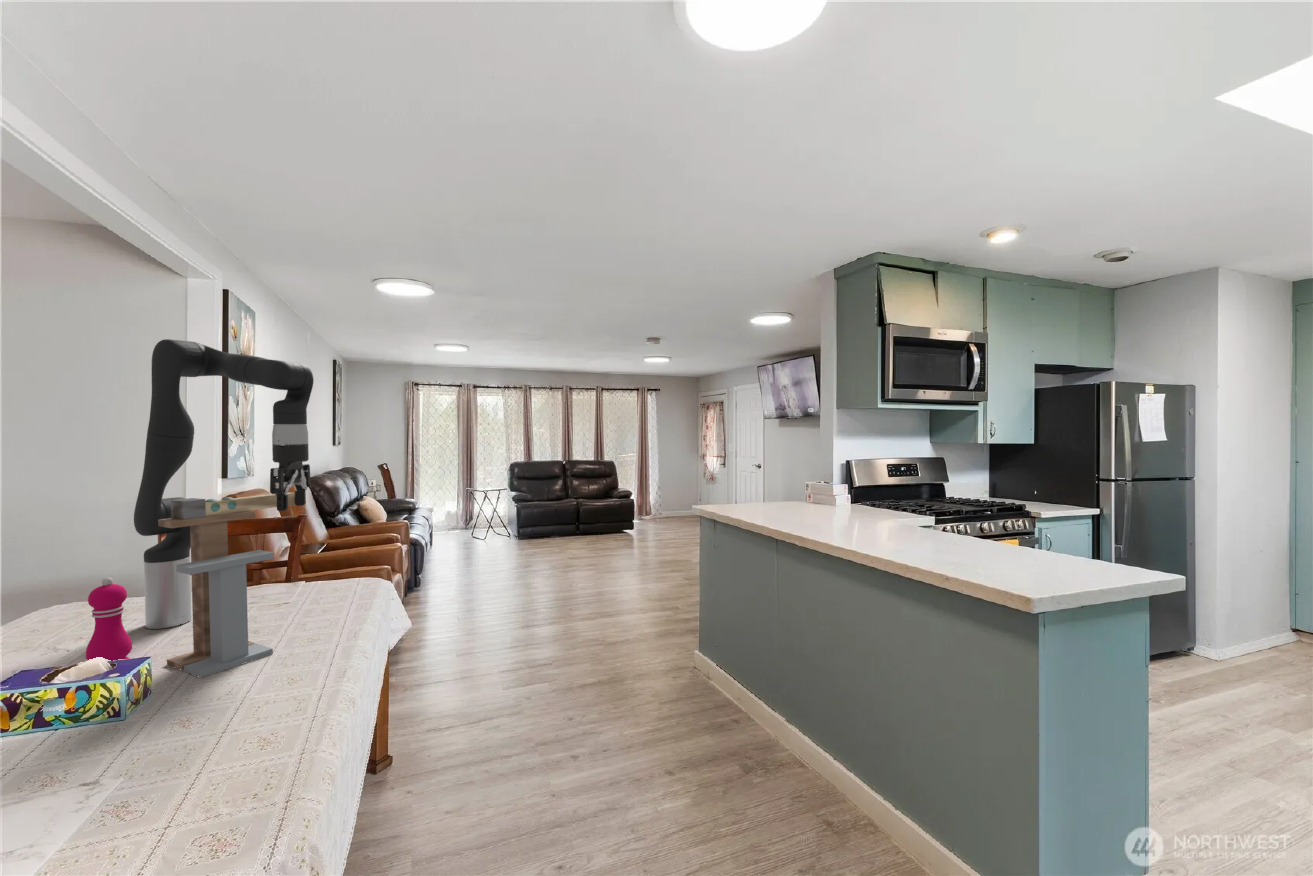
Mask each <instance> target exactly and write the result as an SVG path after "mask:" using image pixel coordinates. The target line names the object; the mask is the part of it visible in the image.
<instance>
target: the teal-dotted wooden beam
mask: <svg viewBox="0 0 1313 876" xmlns="http://www.w3.org/2000/svg"><path fill="white" fill-rule="evenodd" d="M287 495H288V506H296V505H295V492H289V491H288V494H287ZM273 508H277V496H276V495H275V494H274V493H270V494H263V495H262V494H261V495H254V496H253V495H252V496H243V497H232V496H231V497H230V496H228V497H227V496H226V497H222V498H221V499H214V498H209V499H205V498H193V497H190V498H185V499H179V500H171V519H181V520H188V519H195V518H203V517H206V516H213V515H221V514H228V513H236V512H243V511H257V510H266V509H273Z"/></svg>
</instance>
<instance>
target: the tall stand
mask: <svg viewBox="0 0 1313 876" xmlns="http://www.w3.org/2000/svg"><path fill="white" fill-rule="evenodd" d="M255 517H256V510H251V511H243V512H236V513H228V514H221V515H213V516H206V517H203V518H195V519H188V520H181V519H171V518H168V519H160V520H158V526H160V527H167V528H178V527H185V526H190V537H191V548H190V562H195V561H201V560H206V559H212V558H217V557H223V556H229V542H228V540H229V537H228V536H229V535H228V531H229V529H228V521H237V520H243V519H250V518H251V519H253V518H255ZM191 612H192V636H193V638H192V639H193V640H192V641H193V642H192V643H193V647H192V648H193V651H190V652H186V653H184V654H180V655H177V656H173V657H171V658H167V659H166V665H167V666H169V667H171V666H173V667H172V668H174V667H175V669H176V668H177V669H176V670H179V669H181V670H184V666H185V665H188V664H191V663H195V662H198V661H201V660H204V659H207V658H211V649H210V612H209V574H208V572H203V573H197V574H192V575H191ZM252 644H255V642H252V641H249V640H248V646H249V645H252ZM181 670H180V671H181Z"/></svg>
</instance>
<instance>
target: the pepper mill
mask: <svg viewBox="0 0 1313 876" xmlns="http://www.w3.org/2000/svg"><path fill="white" fill-rule="evenodd" d="M87 597H88V598H87V603H88V605H89V606H91V608H93V609H92V610H91V613H92V614H91V618H94V630H93V634H92V635H91V638H90V640H89V641H88V644H87V646H86V650H85V660H86V661H88V660H89V659H93V658H96V657H103V658H105V659H108V660H111V661H113V660H118V659H130V660H131V658H130V657H129V656H128V655H129V654H130V653H131V652H132V650H133V641H132V638H131V637H130V636H129V634H128V632H127V631H126V630H125V627H124V625H123V619H122V616H123V613H124V612H125V609H124V608H125V605H124V604H123V603H124V602H125V601H126V599H127V597H128V592H127V589H126V588H125V587H124V586H123V585H120V584H117V583H114V579H113V578H112V577H105V578H103V579H102V580H101V585H100V586H99V585H98V587H95V588H94V589H92V590H91V592H90V593H89V595H88V596H87Z"/></svg>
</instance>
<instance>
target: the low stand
mask: <svg viewBox="0 0 1313 876" xmlns="http://www.w3.org/2000/svg"><path fill="white" fill-rule="evenodd" d="M272 559H275V552H273V551H267V550H261V549H257V550H252V551H246V552H240V553H235V554H234V553H233V554H230V555H229V554H228V556H223V557H217V558H212V559H206V560H201V561H195V562H191V561H190V563H184V564H179V565H176V572H180V573H185V574H189V575H190V576H192V574H197V573H203V572H208V574H209V612H210V649H211V658H207V659H204V660H201V661H198V662H195V663H191V664H188V665H185V666H184V671H185V672H184V671H183V672H184V673H186V672H188V673H187V674H189V673H191V674H193V675H192V676H194V675H195V676H194V677H196V676H199V677H200V679H201V677H202V678H204V677H203V676H205V677H208V676H211V675H214V674H217V673H220V672H222V671H226V670H228V669H232V668H234V666H235V667H238V666H240V664H241V665H243V664H242V663H244V664H246V663H245V662H247V663H250V662H252V661H251V660H253V661H255V660H254V659H256V660H258V659H262V658H264V656H265V657H267V655H268V656H270V655H273V654H274V651H273V648H272V647H269V646H266V645H263V644H259V643H257V642H256V643H255V642H254V643H255V644H252V645H249V646H248V641H249V628H248V627H249V624H248V622H249V621H248V620H249V619H248V586H247V585H248V583H247V580H248V579H247V578H248V577H247V565H248V564H251V563H252V564H253V563H257V562H262V561H267V560H268V561H269V560H272ZM261 657H262V658H261ZM249 661H250V662H249ZM216 672H217V673H216ZM213 673H214V674H213ZM191 674H190V675H191ZM199 677H198V678H199Z"/></svg>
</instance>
